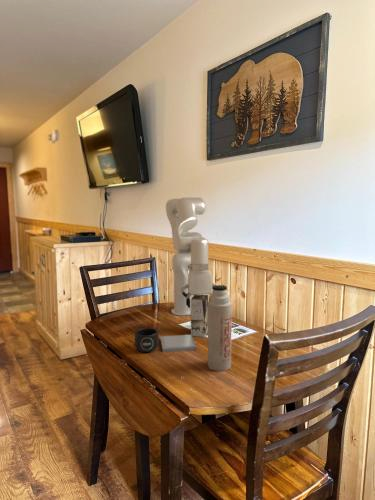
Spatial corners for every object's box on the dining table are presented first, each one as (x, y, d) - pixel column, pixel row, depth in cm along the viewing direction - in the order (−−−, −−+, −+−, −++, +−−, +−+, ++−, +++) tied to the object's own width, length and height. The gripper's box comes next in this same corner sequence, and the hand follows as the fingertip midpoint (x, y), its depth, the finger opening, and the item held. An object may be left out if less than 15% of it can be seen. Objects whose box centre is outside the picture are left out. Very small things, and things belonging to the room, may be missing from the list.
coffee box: (205, 337, 145) (205, 300, 143) (190, 336, 146) (190, 299, 144) (208, 329, 154) (208, 294, 152) (194, 328, 155) (194, 294, 153)
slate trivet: (160, 339, 143) (160, 336, 143) (191, 337, 145) (191, 334, 145) (162, 351, 130) (162, 348, 130) (196, 349, 132) (196, 346, 132)
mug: (159, 353, 129) (159, 335, 129) (135, 355, 128) (134, 336, 127) (156, 341, 141) (156, 324, 140) (134, 342, 140) (134, 325, 139)
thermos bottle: (235, 368, 117) (236, 287, 113) (214, 372, 114) (214, 290, 110) (223, 358, 124) (224, 282, 121) (203, 363, 121) (203, 285, 117)
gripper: (180, 269, 142) (181, 309, 143) (221, 268, 144) (221, 307, 146) (178, 266, 149) (178, 305, 151) (217, 265, 151) (217, 303, 153)
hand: (199, 306), depth 148 cm, fingers open, 9 cm apart
